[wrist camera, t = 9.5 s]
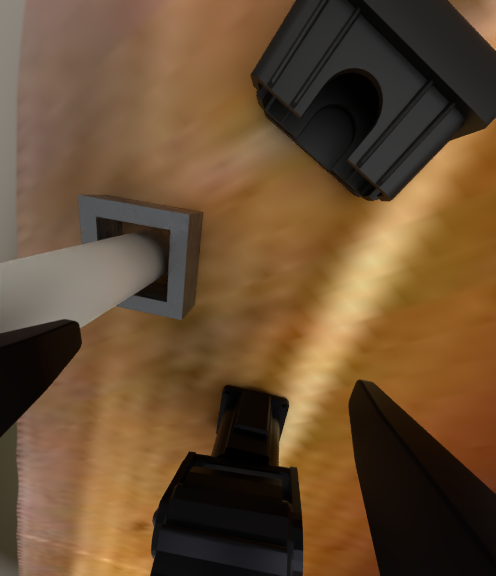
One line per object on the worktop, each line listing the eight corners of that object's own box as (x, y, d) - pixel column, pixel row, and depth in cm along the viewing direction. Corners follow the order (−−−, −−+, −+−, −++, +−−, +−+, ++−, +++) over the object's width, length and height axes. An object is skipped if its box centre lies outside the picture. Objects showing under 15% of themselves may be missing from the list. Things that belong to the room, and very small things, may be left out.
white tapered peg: (174, 280, 22) (9, 401, 9) (130, 270, 22) (-91, 375, 9) (177, 234, 20) (-12, 299, 7) (131, 225, 21) (-131, 271, 8)
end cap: (453, 108, 16) (568, 48, 9) (364, 204, 18) (407, 208, 12) (332, -12, 14) (368, -174, 8) (255, 107, 17) (238, 54, 11)
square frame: (194, 304, 22) (181, 320, 20) (110, 287, 23) (86, 299, 20) (203, 212, 20) (189, 214, 17) (106, 195, 20) (78, 194, 17)
